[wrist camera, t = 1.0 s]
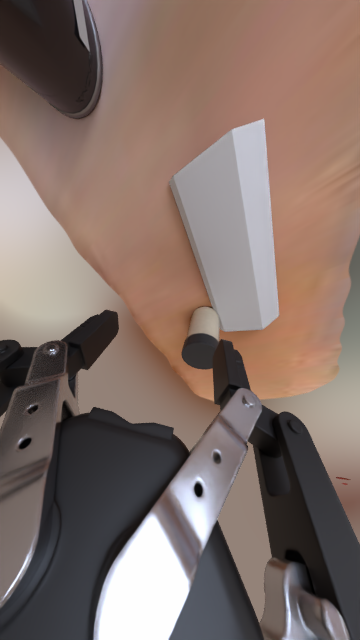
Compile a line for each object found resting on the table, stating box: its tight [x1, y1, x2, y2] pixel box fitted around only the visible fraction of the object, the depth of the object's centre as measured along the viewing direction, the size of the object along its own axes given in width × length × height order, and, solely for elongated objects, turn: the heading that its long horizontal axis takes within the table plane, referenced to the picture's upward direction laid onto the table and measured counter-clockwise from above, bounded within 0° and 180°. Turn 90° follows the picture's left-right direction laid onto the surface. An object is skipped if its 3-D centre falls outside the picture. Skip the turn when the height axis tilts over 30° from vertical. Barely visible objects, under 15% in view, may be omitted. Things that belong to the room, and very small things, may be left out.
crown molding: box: [169, 119, 279, 332], centre depth 24 cm, size 29×12×4 cm, turn 24°
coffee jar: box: [186, 307, 220, 342], centre depth 29 cm, size 6×6×11 cm
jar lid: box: [182, 333, 219, 369], centre depth 25 cm, size 7×7×2 cm
